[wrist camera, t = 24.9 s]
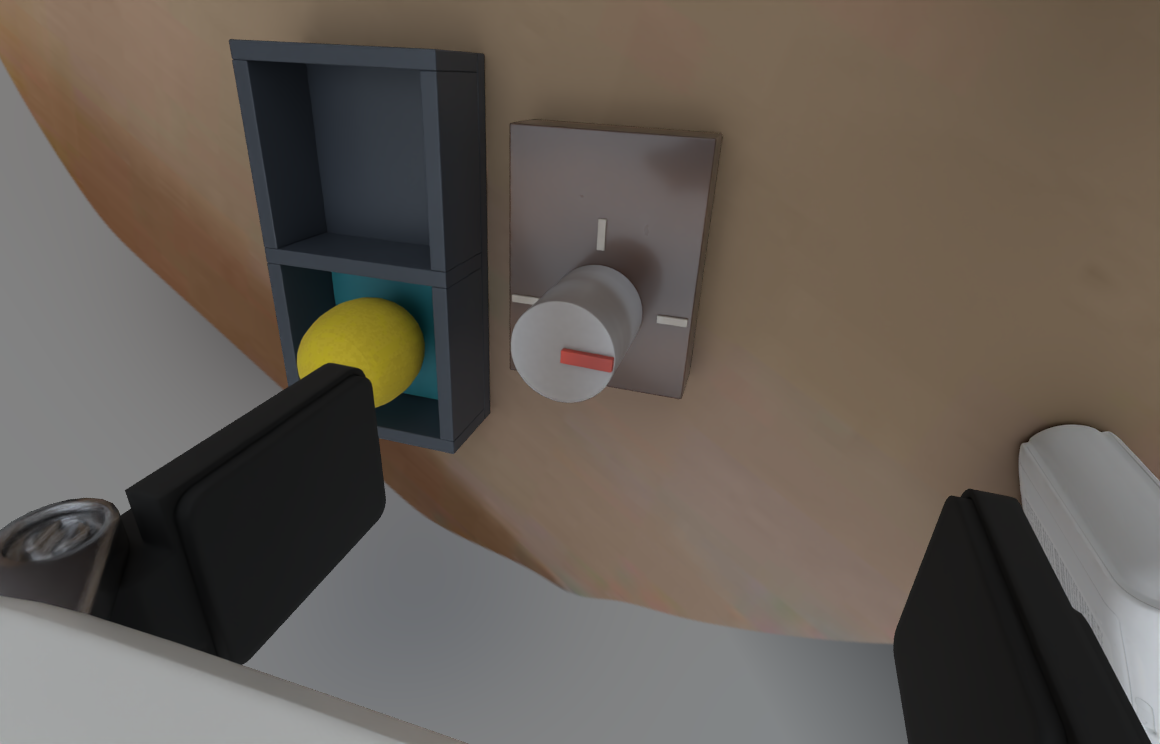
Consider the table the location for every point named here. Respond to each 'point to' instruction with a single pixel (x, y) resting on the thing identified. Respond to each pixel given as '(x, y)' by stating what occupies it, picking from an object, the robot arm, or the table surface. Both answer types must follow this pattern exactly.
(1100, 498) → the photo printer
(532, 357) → the tap knob
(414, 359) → the lemon
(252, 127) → the compartment box
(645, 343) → the tap panel
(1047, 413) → the table surface
